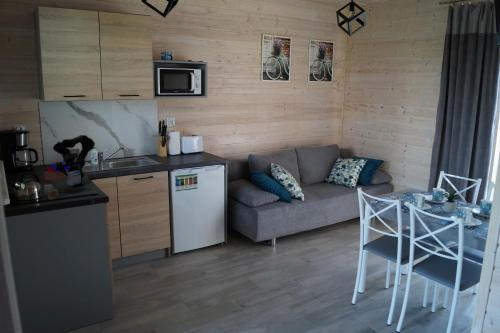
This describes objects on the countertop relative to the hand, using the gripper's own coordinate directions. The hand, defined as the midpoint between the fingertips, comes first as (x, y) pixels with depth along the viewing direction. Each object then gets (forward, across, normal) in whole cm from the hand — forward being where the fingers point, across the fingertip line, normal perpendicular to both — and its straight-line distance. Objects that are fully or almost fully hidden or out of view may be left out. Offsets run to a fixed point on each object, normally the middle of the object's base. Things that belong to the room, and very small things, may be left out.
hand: (74, 174), depth 273 cm
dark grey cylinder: (+7, -15, +10) cm, 20 cm away
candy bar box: (-54, +29, +73) cm, 95 cm away
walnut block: (+12, -15, +6) cm, 20 cm away
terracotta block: (+3, -14, +15) cm, 21 cm away
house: (-29, +7, +48) cm, 57 cm away
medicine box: (+4, 0, +6) cm, 7 cm away
